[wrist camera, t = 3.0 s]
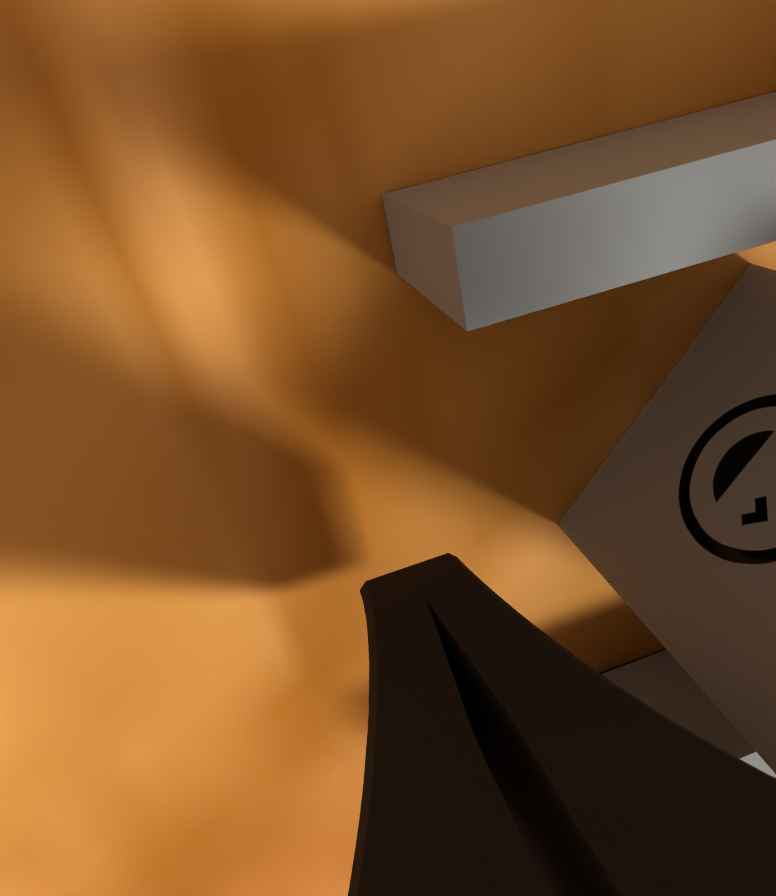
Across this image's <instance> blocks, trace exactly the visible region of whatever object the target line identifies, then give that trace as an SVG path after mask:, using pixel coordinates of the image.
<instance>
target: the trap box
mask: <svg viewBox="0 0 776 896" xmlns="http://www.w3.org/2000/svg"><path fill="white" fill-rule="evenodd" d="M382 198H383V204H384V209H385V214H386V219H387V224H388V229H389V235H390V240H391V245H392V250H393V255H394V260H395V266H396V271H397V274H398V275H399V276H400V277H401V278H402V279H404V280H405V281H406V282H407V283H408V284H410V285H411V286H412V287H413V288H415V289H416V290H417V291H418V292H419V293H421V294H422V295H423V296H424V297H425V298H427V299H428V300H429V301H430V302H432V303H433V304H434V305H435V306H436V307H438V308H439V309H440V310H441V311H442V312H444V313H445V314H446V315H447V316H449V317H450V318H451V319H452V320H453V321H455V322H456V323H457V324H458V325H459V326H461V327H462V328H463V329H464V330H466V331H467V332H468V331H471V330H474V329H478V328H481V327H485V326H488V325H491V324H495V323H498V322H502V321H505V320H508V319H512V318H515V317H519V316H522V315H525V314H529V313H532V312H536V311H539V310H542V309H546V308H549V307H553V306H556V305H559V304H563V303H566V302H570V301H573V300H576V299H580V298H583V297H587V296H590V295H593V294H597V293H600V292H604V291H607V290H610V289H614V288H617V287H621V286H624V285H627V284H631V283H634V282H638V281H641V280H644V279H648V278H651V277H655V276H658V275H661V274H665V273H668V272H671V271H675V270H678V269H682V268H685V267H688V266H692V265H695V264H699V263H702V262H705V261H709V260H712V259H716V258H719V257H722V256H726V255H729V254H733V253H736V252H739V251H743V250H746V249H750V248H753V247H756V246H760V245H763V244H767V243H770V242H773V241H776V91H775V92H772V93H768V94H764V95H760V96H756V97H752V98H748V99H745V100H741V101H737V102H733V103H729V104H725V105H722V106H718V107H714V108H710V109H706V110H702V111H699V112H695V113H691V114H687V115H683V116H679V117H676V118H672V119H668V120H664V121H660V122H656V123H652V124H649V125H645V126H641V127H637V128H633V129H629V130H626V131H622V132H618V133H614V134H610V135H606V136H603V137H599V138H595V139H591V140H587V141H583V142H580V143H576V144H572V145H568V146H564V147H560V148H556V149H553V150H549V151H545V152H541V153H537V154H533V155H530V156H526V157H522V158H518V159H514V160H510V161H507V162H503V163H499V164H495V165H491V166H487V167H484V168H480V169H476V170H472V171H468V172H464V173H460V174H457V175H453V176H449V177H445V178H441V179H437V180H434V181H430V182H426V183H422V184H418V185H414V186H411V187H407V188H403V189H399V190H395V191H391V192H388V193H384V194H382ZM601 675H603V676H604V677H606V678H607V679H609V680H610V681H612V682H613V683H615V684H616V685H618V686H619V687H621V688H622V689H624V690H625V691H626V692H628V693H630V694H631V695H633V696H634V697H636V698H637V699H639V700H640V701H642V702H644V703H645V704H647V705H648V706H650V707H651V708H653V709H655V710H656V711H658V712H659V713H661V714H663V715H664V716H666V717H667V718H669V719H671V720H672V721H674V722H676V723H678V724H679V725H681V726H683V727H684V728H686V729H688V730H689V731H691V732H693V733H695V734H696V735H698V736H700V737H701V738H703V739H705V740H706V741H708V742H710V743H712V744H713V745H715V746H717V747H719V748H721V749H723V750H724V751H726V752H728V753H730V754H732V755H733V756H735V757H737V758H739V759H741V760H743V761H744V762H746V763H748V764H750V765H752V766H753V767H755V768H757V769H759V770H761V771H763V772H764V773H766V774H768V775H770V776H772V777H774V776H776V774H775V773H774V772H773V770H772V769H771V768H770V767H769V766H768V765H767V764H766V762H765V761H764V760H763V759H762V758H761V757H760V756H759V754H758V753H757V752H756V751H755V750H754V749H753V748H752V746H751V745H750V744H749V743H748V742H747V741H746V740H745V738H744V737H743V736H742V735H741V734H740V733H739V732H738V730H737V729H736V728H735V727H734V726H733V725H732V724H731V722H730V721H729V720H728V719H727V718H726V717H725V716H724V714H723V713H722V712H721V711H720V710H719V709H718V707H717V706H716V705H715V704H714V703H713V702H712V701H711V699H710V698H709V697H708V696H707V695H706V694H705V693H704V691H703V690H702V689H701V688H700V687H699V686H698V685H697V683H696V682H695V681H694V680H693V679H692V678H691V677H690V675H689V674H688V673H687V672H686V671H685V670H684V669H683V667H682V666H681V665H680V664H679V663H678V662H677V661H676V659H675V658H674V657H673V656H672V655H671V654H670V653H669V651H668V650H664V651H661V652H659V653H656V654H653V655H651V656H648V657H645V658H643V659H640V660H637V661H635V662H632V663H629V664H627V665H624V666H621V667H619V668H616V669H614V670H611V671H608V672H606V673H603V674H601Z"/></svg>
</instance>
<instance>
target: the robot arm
mask: <svg viewBox="0 0 776 896" xmlns="http://www.w3.org/2000/svg"><path fill="white" fill-rule="evenodd" d="M360 593H361V596H362V599H363V603H364V608H365V614H366V621H367V630H368V645H369V719H368V734H367V746H366V759H365V772H364V784H363V794H362V802H361V811H360V819H359V827H358V834H357V841H356V848H355V854H354V861H353V868H352V874H351V881H350V887H349V892H348V896H776V778H774V777H772V776H770V775H768V774H766V773H764V772H763V771H761V770H759V769H757V768H755V767H753V766H752V765H750V764H748V763H746V762H744V761H743V760H741V759H739V758H737V757H735V756H733V755H732V754H730V753H728V752H726V751H724V750H723V749H721V748H719V747H717V746H715V745H713V744H712V743H710V742H708V741H706V740H705V739H703V738H701V737H700V736H698V735H696V734H695V733H693V732H691V731H689V730H688V729H686V728H684V727H683V726H681V725H679V724H678V723H676V722H674V721H672V720H671V719H669V718H667V717H666V716H664V715H663V714H661V713H659V712H658V711H656V710H655V709H653V708H651V707H650V706H648V705H647V704H645V703H644V702H642V701H640V700H639V699H637V698H636V697H634V696H633V695H631V694H630V693H628V692H626V691H625V690H624V689H622V688H621V687H619V686H618V685H616V684H615V683H613V682H612V681H610V680H609V679H607V678H606V677H604V676H603V675H601V674H600V673H598V672H597V671H596V670H594V669H593V668H591V667H590V666H588V665H587V664H586V663H584V662H583V661H581V660H580V659H579V658H577V657H576V656H574V655H573V654H572V653H570V652H569V651H568V650H566V649H565V648H564V647H562V646H561V645H560V644H558V643H557V642H556V641H554V640H553V639H552V638H551V637H549V636H548V635H547V634H545V633H544V632H543V631H541V630H540V629H539V628H537V627H536V626H535V625H533V624H532V623H531V622H530V621H528V620H527V619H526V618H525V617H523V616H522V615H521V614H520V613H518V612H517V611H516V610H515V609H514V608H512V607H511V606H510V605H509V604H508V603H506V602H505V601H504V600H503V599H502V598H501V597H499V596H498V595H497V594H496V593H495V592H494V591H492V590H491V589H490V588H489V587H488V586H487V585H486V584H484V583H483V582H482V581H481V580H480V579H479V578H478V577H477V576H476V575H475V574H474V573H473V572H471V571H470V570H469V569H468V568H467V567H466V566H465V565H464V564H463V563H462V562H461V561H460V560H459V559H458V558H457V557H456V556H453V555H451V554H449V553H447V554H444V555H441V556H438V557H435V558H432V559H429V560H426V561H424V562H421V563H418V564H415V565H412V566H409V567H406V568H403V569H400V570H397V571H394V572H392V573H389V574H386V575H383V576H380V577H377V578H374V579H371V580H368V581H366V582H365V583H364V585H363V586H362V588H361V589H360Z"/></svg>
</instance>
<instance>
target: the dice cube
mask: <svg viewBox="0 0 776 896" xmlns="http://www.w3.org/2000/svg"><path fill="white" fill-rule="evenodd" d="M558 525H559V527H560V528H561V529H562V530H563V531H564V532H565V533H566V535H567V536H568V537H569V538H570V539H571V540H572V542H573V543H574V544H575V545H576V546H577V547H578V548H579V550H580V551H581V552H582V553H583V554H584V555H585V556H586V558H587V559H588V560H589V561H590V562H591V563H592V564H593V566H594V567H595V568H596V569H597V570H598V571H599V572H600V574H601V575H602V576H603V577H604V578H605V579H606V580H607V582H608V583H609V584H610V585H611V586H612V587H613V588H614V590H615V591H616V592H617V593H618V594H619V595H620V596H621V598H622V599H623V600H624V601H625V602H626V603H627V604H628V606H629V607H630V608H631V609H632V610H633V611H634V612H635V614H636V615H637V616H638V617H639V618H640V619H641V620H642V622H643V623H644V624H645V625H646V626H647V627H648V629H649V630H650V631H651V632H652V633H653V634H654V635H655V637H656V638H657V639H658V640H659V641H660V642H661V643H662V645H663V646H664V647H665V648H666V649H667V650H668V651H669V653H670V654H671V655H672V656H673V657H674V658H675V659H676V661H677V662H678V663H679V664H680V665H681V666H682V667H683V669H684V670H685V671H686V672H687V673H688V674H689V675H690V677H691V678H692V679H693V680H694V681H695V682H696V683H697V685H698V686H699V687H700V688H701V689H702V690H703V691H704V693H705V694H706V695H707V696H708V697H709V698H710V699H711V701H712V702H713V703H714V704H715V705H716V706H717V707H718V709H719V710H720V711H721V712H722V713H723V714H724V716H725V717H726V718H727V719H728V720H729V721H730V722H731V724H732V725H733V726H734V727H735V728H736V729H737V730H738V732H739V733H740V734H741V735H742V736H743V737H744V738H745V740H746V741H747V742H748V743H749V744H750V745H751V746H752V748H753V749H754V750H755V751H756V752H757V753H758V754H759V756H760V757H761V758H762V759H763V760H764V761H765V762H766V764H767V765H768V766H769V767H770V768H771V769H772V770H773V772H774V773H775V774H776V271H774V270H771V269H767V268H764V267H761V266H757V265H754V264H750V265H749V266H748V268H747V269H746V270H745V272H744V273H743V274H742V276H741V277H740V278H739V280H738V281H737V283H736V284H735V285H734V287H733V288H732V289H731V291H730V292H729V293H728V295H727V296H726V297H725V299H724V300H723V301H722V303H721V304H720V306H719V307H718V308H717V310H716V311H715V312H714V314H713V315H712V316H711V318H710V319H709V320H708V322H707V323H706V324H705V326H704V327H703V329H702V330H701V331H700V333H699V334H698V335H697V337H696V338H695V339H694V341H693V342H692V343H691V345H690V346H689V348H688V349H687V350H686V352H685V353H684V354H683V356H682V357H681V358H680V360H679V361H678V362H677V364H676V365H675V366H674V368H673V369H672V371H671V372H670V373H669V375H668V376H667V377H666V379H665V380H664V381H663V383H662V384H661V385H660V387H659V388H658V389H657V391H656V392H655V394H654V395H653V396H652V398H651V399H650V400H649V402H648V403H647V404H646V406H645V407H644V408H643V410H642V411H641V412H640V414H639V415H638V417H637V418H636V419H635V421H634V422H633V423H632V425H631V426H630V427H629V429H628V430H627V431H626V433H625V434H624V436H623V437H622V438H621V440H620V441H619V442H618V444H617V445H616V446H615V448H614V449H613V450H612V452H611V453H610V454H609V456H608V457H607V459H606V460H605V461H604V463H603V464H602V465H601V467H600V468H599V469H598V471H597V472H596V473H595V475H594V476H593V477H592V479H591V480H590V482H589V483H588V484H587V486H586V487H585V488H584V490H583V491H582V492H581V494H580V495H579V496H578V498H577V499H576V500H575V502H574V503H573V505H572V506H571V507H570V509H569V510H568V511H567V513H566V514H565V515H564V517H563V518H562V519H561V521H560V522H559V524H558Z"/></svg>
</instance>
